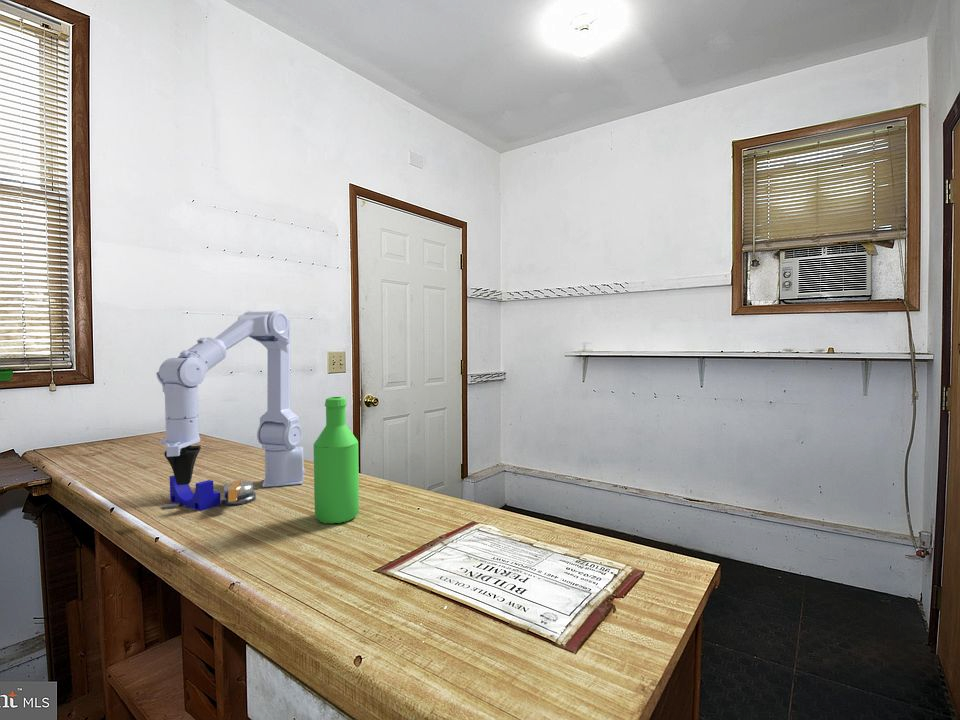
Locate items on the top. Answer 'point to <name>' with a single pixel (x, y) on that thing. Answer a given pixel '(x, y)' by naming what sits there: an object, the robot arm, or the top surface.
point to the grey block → (170, 505)
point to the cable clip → (194, 495)
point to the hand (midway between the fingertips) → (183, 483)
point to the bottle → (336, 467)
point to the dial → (238, 490)
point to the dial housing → (239, 500)
